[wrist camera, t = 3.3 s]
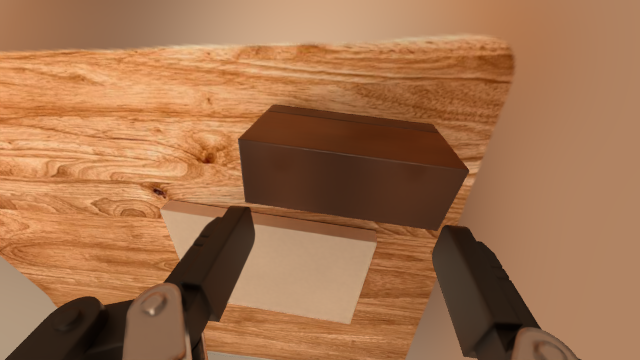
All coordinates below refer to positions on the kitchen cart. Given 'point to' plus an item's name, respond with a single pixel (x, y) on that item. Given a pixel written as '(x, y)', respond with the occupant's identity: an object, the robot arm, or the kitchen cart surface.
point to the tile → (288, 261)
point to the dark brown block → (350, 166)
